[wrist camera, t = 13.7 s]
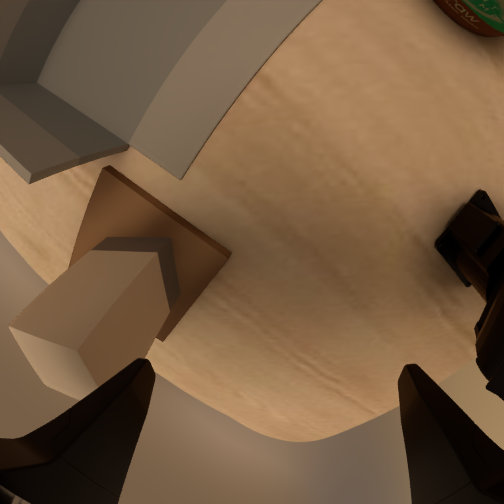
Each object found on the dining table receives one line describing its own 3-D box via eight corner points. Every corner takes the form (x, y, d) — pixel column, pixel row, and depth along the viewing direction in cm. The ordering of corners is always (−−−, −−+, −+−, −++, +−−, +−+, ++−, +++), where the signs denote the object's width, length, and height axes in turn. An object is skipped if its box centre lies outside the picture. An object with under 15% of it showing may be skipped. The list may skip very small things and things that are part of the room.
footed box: (170, 237, 21) (77, 350, 10) (180, 293, 23) (115, 413, 12) (107, 236, 21) (8, 325, 11) (120, 288, 24) (44, 384, 13)
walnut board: (231, 252, 22) (228, 258, 21) (166, 335, 27) (162, 342, 26) (109, 165, 20) (102, 167, 19) (73, 266, 25) (67, 271, 24)
